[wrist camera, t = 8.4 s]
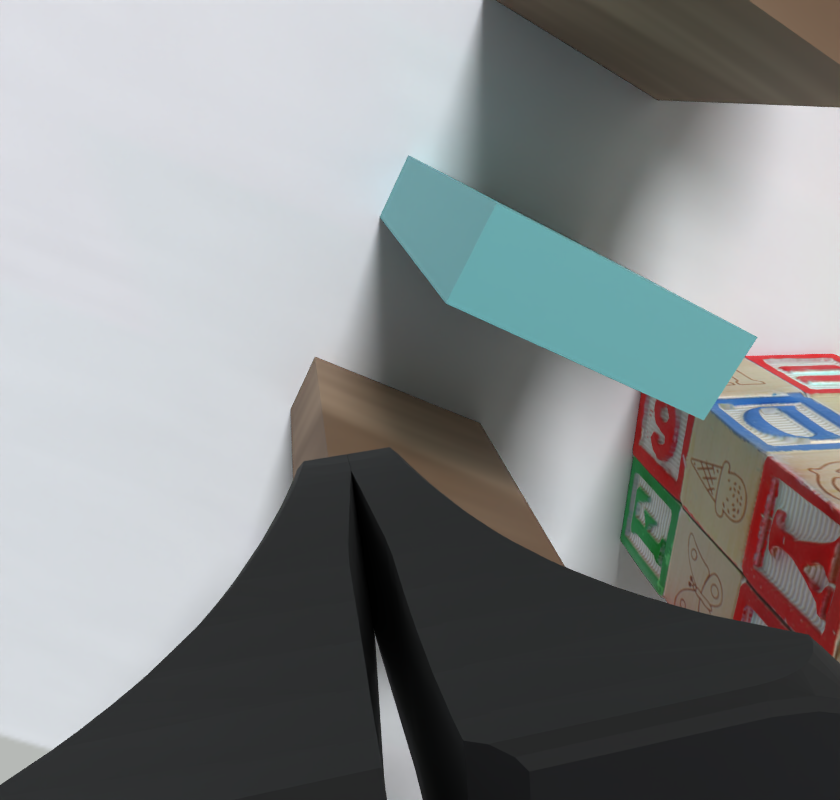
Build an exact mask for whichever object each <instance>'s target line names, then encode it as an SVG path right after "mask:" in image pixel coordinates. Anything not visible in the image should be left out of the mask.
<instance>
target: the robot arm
mask: <svg viewBox="0 0 840 800" xmlns="http://www.w3.org/2000/svg"><path fill="white" fill-rule="evenodd" d="M374 631H375V632H374ZM375 636H376V639H377V642H378V646H379V649H380V653H381V656H382V659H383V663H384V666H385V670H386V673H387V676H388V680H389V683H390V686H391V690H392V693H393V696H394V700H395V703H396V706H397V710H398V713H399V717H400V720H401V723H402V727H403V730H404V733H405V737H406V740H407V743H408V747H409V750H410V753H411V757H412V760H413V763H414V767H415V770H416V774H417V778H418V782H419V786H420V790H421V794H422V798H423V800H840V663H839V662H838V661H837V660H836V659H835V658H834V657H833V656H832V655H830V654H829V653H828V652H827V651H826V650H825V649H824V648H823V647H822V646H821V645H820V644H818V643H817V642H816V641H815V640H814V639H813V638H812V637H811V636H810V635H808V634H803V633H798V632H793V631H788V630H783V629H778V628H773V627H768V626H763V625H758V624H753V623H748V622H743V621H738V620H733V619H728V618H723V617H718V616H713V615H709V614H705V613H701V612H697V611H693V610H690V609H686V608H683V607H679V606H676V605H672V604H668V603H665V602H661V601H658V600H654V599H651V598H647V597H644V596H641V595H638V594H635V593H632V592H629V591H626V590H623V589H620V588H617V587H614V586H612V585H609V584H606V583H604V582H601V581H599V580H596V579H594V578H591V577H588V576H586V575H583V574H581V573H578V572H576V571H573V570H571V569H568V568H566V567H564V566H562V565H559V564H557V563H555V562H553V561H550V560H548V559H546V558H544V557H542V556H540V555H539V554H537V553H535V552H533V551H531V550H529V549H527V548H525V547H523V546H521V545H519V544H517V543H515V542H513V541H511V540H510V539H508V538H506V537H504V536H503V535H501V534H499V533H498V532H496V531H494V530H493V529H491V528H490V527H488V526H487V525H485V524H484V523H482V522H481V521H479V520H477V519H476V518H474V517H473V516H472V515H470V514H469V513H467V512H466V511H465V510H463V509H462V508H461V507H459V506H458V505H457V504H455V503H454V502H453V501H452V500H450V499H449V498H448V497H446V496H445V495H444V494H443V493H441V492H440V491H439V490H438V489H436V488H435V487H434V486H433V485H432V484H430V483H429V482H428V481H427V480H426V479H425V478H424V477H422V476H421V475H420V474H419V473H418V472H417V471H416V470H415V469H414V468H413V467H411V466H410V465H409V464H408V463H407V462H406V461H405V460H404V459H403V458H402V457H401V456H400V455H399V454H398V453H397V452H395V451H394V450H393V449H391V448H390V447H387V448H381V449H375V450H369V451H363V452H357V453H351V454H345V455H338V456H332V457H326V458H320V459H314V460H308V461H303V463H302V464H301V465H300V466H299V468H298V469H297V471H296V474H295V477H294V479H293V482H292V484H291V487H290V489H289V491H288V493H287V495H286V497H285V499H284V502H283V504H282V506H281V508H280V510H279V511H278V513H277V515H276V517H275V518H274V520H273V522H272V524H271V526H270V527H269V529H268V531H267V533H266V535H265V536H264V538H263V540H262V541H261V543H260V544H259V546H258V547H257V549H256V550H255V552H254V553H253V555H252V556H251V558H250V559H249V561H248V562H247V564H246V565H245V567H244V568H243V570H242V571H241V573H240V574H239V576H238V577H237V578H236V580H235V581H234V583H233V584H232V585H231V587H230V588H229V589H228V590H227V592H226V593H225V594H224V596H223V597H222V598H221V599H220V601H219V602H218V603H217V604H216V606H215V607H214V608H213V609H212V610H211V611H210V613H209V614H208V615H207V616H206V617H205V618H204V620H203V621H202V622H201V623H200V624H199V625H198V626H197V627H196V628H195V630H193V631H192V632H191V633H190V634H189V635H188V636H187V637H186V638H185V639H184V640H183V641H182V642H181V643H180V644H179V645H178V646H177V647H176V648H175V649H174V650H173V651H172V652H171V653H170V654H169V655H168V656H166V657H165V658H164V659H163V660H162V661H161V662H160V663H159V664H158V665H157V666H156V667H155V668H154V669H153V670H152V671H151V672H150V673H149V674H148V675H147V676H145V677H144V678H143V679H142V680H141V681H140V682H139V683H137V684H136V685H135V686H134V687H133V688H131V689H130V690H129V691H128V692H127V693H126V694H124V695H123V696H122V697H121V698H120V699H118V700H117V701H116V702H115V703H114V704H112V705H111V706H110V707H109V708H107V709H106V710H105V711H103V712H102V713H101V714H100V715H98V716H97V717H96V718H94V719H93V720H92V721H91V722H89V723H88V724H87V725H85V726H84V727H83V728H82V729H80V730H79V731H78V732H76V733H75V734H74V735H72V736H71V737H69V738H68V739H67V740H65V741H64V742H63V743H61V744H60V745H59V746H57V747H56V748H54V749H53V750H52V751H50V752H49V753H47V754H46V755H44V756H43V757H41V758H40V759H38V760H37V761H35V762H34V763H32V764H31V765H29V766H28V767H27V768H25V769H23V770H22V771H20V772H19V773H17V774H16V775H14V776H13V777H11V778H10V779H8V780H7V781H5V782H4V783H2V784H1V785H0V800H387V797H386V791H385V782H384V770H383V754H382V739H381V723H380V708H379V692H378V677H377V661H376V646H375Z"/></svg>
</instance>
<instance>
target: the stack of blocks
mask: <svg viewBox="0 0 840 800" xmlns="http://www.w3.org/2000/svg"><path fill="white" fill-rule="evenodd" d="M633 455H634V457H633V463H632V469H631V475H630V482H629V488H628V494H627V500H626V507H625V513H624V520H623V527H622V532H621V537H620V539H621V542H622V543H623V545H624V546H625V548H626V549H627V551H628V552H629V554H630V555H631V557H632V558H633V560H634V561H635V562H636V564H637V565H638V567H639V568H640V569H641V571H642V572H643V574H644V575H645V577H646V578H647V579H648V581H649V582H650V583H651V585H652V586H653V587H654V589H655V590H656V592H657V593H658V594H659V595H660V596H661V597H662V598H664V599H666V601H667V603H668V604H672V605H676V606H679V607H683V608H686V609H690V610H693V611H697V612H701V613H705V614H709V615H713V616H718V617H723V618H728V619H733V620H738V621H743V622H748V623H753V624H758V625H763V626H768V627H773V628H778V629H783V630H788V631H793V632H798V633H803V634H808V635H810V636H811V637H812V638H813V639H814V640H815V641H816V642H817V643H818V644H820V645H821V646H822V647H823V648H824V649H825V650H826V651H827V652H828V653H829V654H830V655H832V656H833V657H834V658H835V659H836V660H837V661H838V662H839V663H840V356H837V355H834V354H805V355H769V356H745V357H744V359H743V360H742V362H741V363H740V365H739V367H738V368H737V370H736V371H735V373H734V374H733V376H732V377H731V379H730V380H729V382H728V384H727V385H726V387H725V388H724V390H723V391H722V393H721V394H720V396H719V398H718V399H717V401H716V402H715V404H714V405H713V407H712V408H711V410H710V411H709V413H708V415H707V416H706V418H705V419H704V420H702V419H699V418H697V417H695V416H693V415H691V414H688V413H686V412H684V411H682V410H680V409H677V408H675V407H673V406H671V405H669V404H666V403H664V402H662V401H660V400H658V399H655V398H653V397H651V396H649V395H647V394H644V393H642V392H641V398H640V404H639V411H638V417H637V425H636V432H635V439H634V445H633Z"/></svg>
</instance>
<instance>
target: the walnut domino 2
mask: <svg viewBox="0 0 840 800" xmlns="http://www.w3.org/2000/svg"><path fill="white" fill-rule="evenodd" d="M496 1H498V2H499V3H501V4H503V5H504V6H506V7H507V8H509V9H511V10H512V11H514V12H516V13H517V14H519V15H520V16H522V17H524V18H525V19H527V20H529V21H530V22H532V23H533V24H535V25H537V26H538V27H540V28H542V29H543V30H545V31H546V32H548V33H550V34H551V35H553V36H555V37H556V38H558V39H559V40H561V41H563V42H564V43H566V44H567V45H569V46H571V47H572V48H574V49H576V50H577V51H579V52H580V53H582V54H584V55H585V56H587V57H589V58H590V59H592V60H593V61H595V62H597V63H598V64H600V65H602V66H603V67H605V68H606V69H608V70H610V71H611V72H613V73H615V74H616V75H618V76H619V77H621V78H623V79H624V80H626V81H628V82H629V83H631V84H632V85H634V86H636V87H637V88H639V89H640V90H642V91H644V92H645V93H647V94H649V95H650V96H652V97H653V98H655V99H657V100H668V101H693V102H718V103H743V104H768V105H792V106H817V107H840V0H496Z"/></svg>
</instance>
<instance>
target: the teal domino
mask: <svg viewBox="0 0 840 800" xmlns="http://www.w3.org/2000/svg"><path fill="white" fill-rule="evenodd" d="M380 218H381V219H382V220H383V222H384V223H385V224H386V226H387V227H388V228H389V230H390V231H391V232H392V234H393V235H394V236H395V238H396V239H397V240H398V241H399V243H400V244H401V245H402V247H403V248H404V249H405V251H406V252H407V253H408V255H409V256H410V257H411V259H412V260H413V261H414V262H415V264H416V265H417V266H418V268H419V269H420V270H421V272H422V273H423V274H424V276H425V277H426V278H427V279H428V281H429V282H430V283H431V285H432V286H433V287H434V289H435V290H436V291H437V293H438V294H439V295H440V297H441V298H442V299H443V300H444V302H445V303H446V304H448V305H450V306H452V307H455V308H457V309H459V310H461V311H463V312H466V313H468V314H470V315H472V316H474V317H477V318H479V319H481V320H483V321H486V322H488V323H490V324H492V325H494V326H497V327H499V328H501V329H503V330H505V331H508V332H510V333H512V334H514V335H516V336H519V337H521V338H523V339H525V340H527V341H530V342H532V343H534V344H536V345H538V346H541V347H543V348H545V349H547V350H549V351H552V352H554V353H556V354H558V355H560V356H563V357H565V358H567V359H569V360H572V361H574V362H576V363H578V364H580V365H583V366H585V367H587V368H589V369H591V370H594V371H596V372H598V373H600V374H602V375H605V376H607V377H609V378H611V379H613V380H616V381H618V382H620V383H622V384H624V385H627V386H629V387H631V388H633V389H635V390H638V391H640V392H642V393H644V394H647V395H649V396H651V397H653V398H655V399H658V400H660V401H662V402H664V403H666V404H669V405H671V406H673V407H675V408H677V409H680V410H682V411H684V412H686V413H688V414H691V415H693V416H695V417H697V418H699V419H702V420H704V419H705V418H706V416H707V415H708V413H709V411H710V410H711V408H712V407H713V405H714V404H715V402H716V401H717V399H718V398H719V396H720V394H721V393H722V391H723V390H724V388H725V387H726V385H727V384H728V382H729V380H730V379H731V377H732V376H733V374H734V373H735V371H736V370H737V368H738V367H739V365H740V363H741V362H742V360H743V359H744V357H745V356H746V354H747V353H748V351H749V349H750V348H751V346H752V345H753V343H754V342H755V340H756V339H757V337H756V336H754V335H752V334H750V333H748V332H746V331H745V330H743V329H741V328H739V327H737V326H735V325H733V324H731V323H729V322H727V321H726V320H724V319H722V318H720V317H718V316H716V315H714V314H712V313H710V312H709V311H707V310H705V309H703V308H701V307H699V306H697V305H695V304H693V303H691V302H690V301H688V300H686V299H684V298H682V297H680V296H678V295H676V294H674V293H672V292H671V291H669V290H667V289H665V288H663V287H661V286H659V285H657V284H655V283H653V282H652V281H650V280H648V279H646V278H644V277H642V276H640V275H638V274H636V273H634V272H633V271H631V270H629V269H627V268H625V267H623V266H621V265H619V264H617V263H616V262H614V261H612V260H610V259H608V258H606V257H604V256H602V255H600V254H598V253H597V252H595V251H593V250H591V249H589V248H587V247H585V246H583V245H581V244H579V243H578V242H576V241H574V240H572V239H570V238H568V237H566V236H564V235H562V234H560V233H558V232H556V231H554V230H552V229H550V228H548V227H546V226H545V225H543V224H541V223H539V222H537V221H535V220H533V219H531V218H529V217H527V216H525V215H523V214H521V213H519V212H517V211H515V210H514V209H512V208H510V207H508V206H506V205H504V204H502V203H500V202H498V201H496V200H494V199H492V198H490V197H488V196H486V195H484V194H482V193H481V192H479V191H477V190H475V189H473V188H471V187H469V186H467V185H465V184H463V183H461V182H459V181H457V180H455V179H453V178H451V177H450V176H448V175H446V174H444V173H442V172H440V171H438V170H436V169H434V168H432V167H430V166H428V165H426V164H424V163H422V162H420V161H418V160H417V159H415V158H413V157H411V156H409V155H408V157H407V160H406V162H405V164H404V166H403V168H402V170H401V172H400V175H399V177H398V179H397V181H396V183H395V185H394V188H393V190H392V192H391V194H390V196H389V198H388V201H387V203H386V205H385V207H384V209H383V211H382V213H381V216H380Z"/></svg>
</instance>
